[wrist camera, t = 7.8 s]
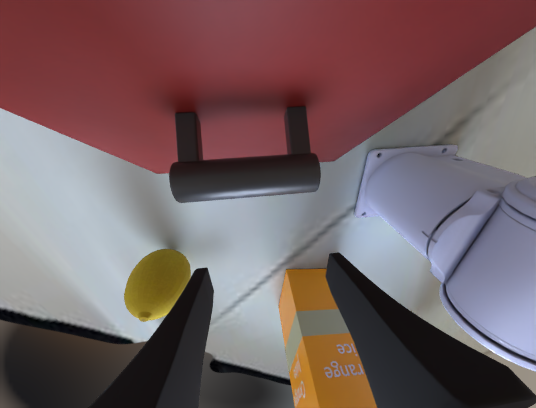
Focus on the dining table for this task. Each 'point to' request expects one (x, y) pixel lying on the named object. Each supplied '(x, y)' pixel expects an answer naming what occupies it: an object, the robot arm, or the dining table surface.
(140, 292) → the lemon
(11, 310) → the dining table surface
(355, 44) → the lid
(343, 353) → the orange juice
